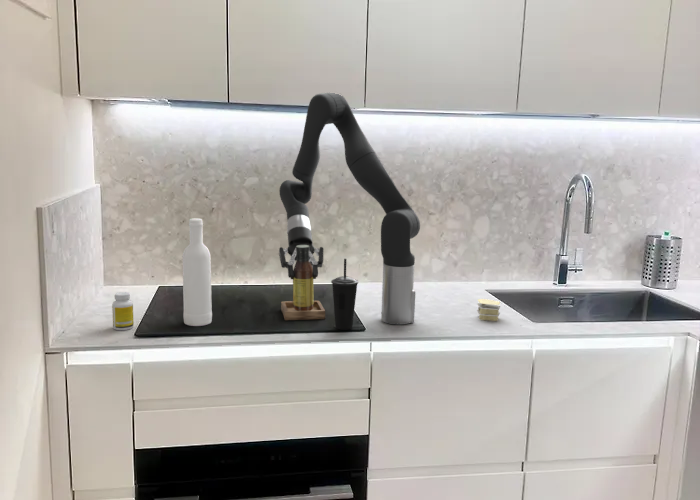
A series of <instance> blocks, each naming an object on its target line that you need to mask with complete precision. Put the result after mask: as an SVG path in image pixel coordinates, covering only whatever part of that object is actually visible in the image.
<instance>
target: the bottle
mask: <svg viewBox="0 0 700 500" xmlns="http://www.w3.org/2000/svg"><path fill="white" fill-rule="evenodd" d="M203 226H204V222H203V219H202V218H199V217H198V218H197V217H193V218H190V219H189V221H188V227H189V231H188V233H189V244H188V245H187V246H186V247H185V248H184V249H183V253H182V256H181V257H182V259H181V260H182V289H183V291H182V293H183V294H182V296H183V298H182V299H183V323H184V324H185V325H187V326H190V327H201V326H202V327H203V326H206V325H210V324H211V323H212V321H213V320H212V319H213V311H212V309H213V308H212V263H211V262H212V259H211V258H212V256H211V252H210V250H209V248H208V247H207V246H206V244H204V234H203V233H204V231H203V230H204V229H203V228H204V227H203Z"/></svg>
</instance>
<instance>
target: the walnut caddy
mask: <svg viewBox="0 0 700 500" xmlns="http://www.w3.org/2000/svg"><path fill="white" fill-rule="evenodd" d="M280 303H281V304H280V306H281V307H280V311H281V313H282V316H283V318H284V321H302V320H304V321H306V320H325V319H326V309H325V308H324V307H323V304H322V303H321V301H320V300H314V304H313V309H312V310H308V311H297V310H295V309H294V304H293V300H292V301H291V300H289V301H285V300H284V301H281V302H280Z"/></svg>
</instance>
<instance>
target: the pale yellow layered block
mask: <svg viewBox="0 0 700 500" xmlns="http://www.w3.org/2000/svg"><path fill="white" fill-rule="evenodd" d="M477 301H478V303H476V304H477V306H478V309H477V310H476V311H477V312H476V313H477V314H478V315H479V316H478V319H479V320H481V321H493V322H497V321H498V320H499V316H500V314H501V312H500V311H499V310H500V309H501V301H498V300H497V301H496V300H492V299H488V298H487V299H486V298H479V299H477Z"/></svg>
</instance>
